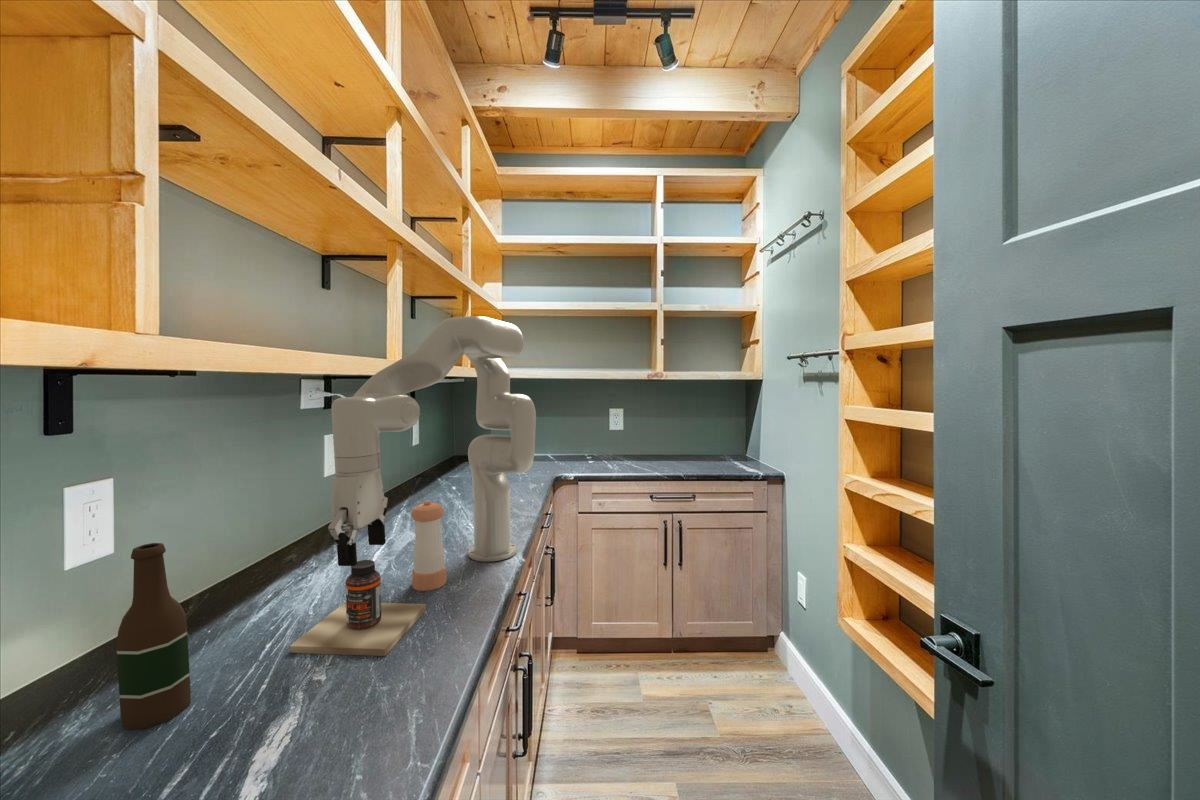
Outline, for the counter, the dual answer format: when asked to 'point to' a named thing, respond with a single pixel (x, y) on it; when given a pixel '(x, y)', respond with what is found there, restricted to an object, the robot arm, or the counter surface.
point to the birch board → (359, 632)
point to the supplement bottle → (363, 595)
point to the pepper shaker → (428, 547)
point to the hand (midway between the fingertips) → (363, 554)
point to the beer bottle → (152, 647)
